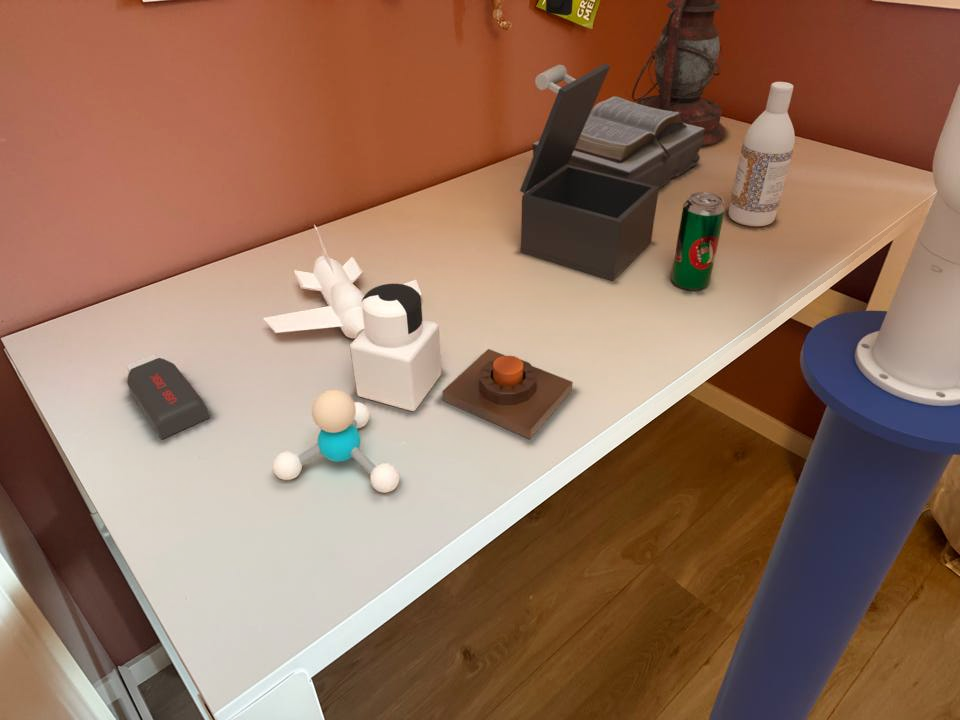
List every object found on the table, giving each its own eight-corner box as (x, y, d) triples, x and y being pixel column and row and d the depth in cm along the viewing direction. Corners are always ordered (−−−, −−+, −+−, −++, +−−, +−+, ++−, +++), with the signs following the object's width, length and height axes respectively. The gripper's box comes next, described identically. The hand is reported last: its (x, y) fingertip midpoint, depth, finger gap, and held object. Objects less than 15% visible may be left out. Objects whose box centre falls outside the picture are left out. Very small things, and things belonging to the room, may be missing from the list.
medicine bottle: (387, 359, 83) (376, 270, 76) (442, 374, 81) (437, 283, 74) (356, 397, 78) (341, 305, 71) (414, 413, 76) (405, 320, 69)
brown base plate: (572, 391, 79) (573, 370, 77) (530, 439, 73) (530, 417, 71) (488, 358, 83) (488, 337, 82) (442, 400, 78) (441, 379, 76)
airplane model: (282, 372, 82) (269, 318, 77) (249, 290, 96) (236, 240, 91) (443, 328, 88) (441, 275, 84) (390, 256, 102) (385, 208, 98)
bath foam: (722, 207, 113) (750, 77, 101) (767, 207, 113) (800, 77, 101) (733, 228, 108) (763, 92, 96) (780, 228, 108) (816, 92, 95)
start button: (528, 374, 77) (529, 361, 76) (512, 390, 75) (513, 377, 74) (503, 364, 78) (503, 351, 77) (487, 380, 76) (487, 367, 75)
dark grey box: (650, 243, 105) (659, 186, 99) (613, 281, 96) (620, 222, 91) (562, 218, 111) (566, 164, 106) (520, 252, 103) (521, 195, 97)
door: (611, 65, 94) (575, 44, 95) (564, 91, 86) (526, 67, 87) (568, 162, 105) (537, 142, 107) (524, 193, 97) (490, 171, 98)
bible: (720, 172, 124) (732, 115, 118) (609, 217, 111) (616, 156, 105) (622, 134, 139) (628, 82, 133) (514, 170, 126) (515, 114, 120)
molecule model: (270, 508, 66) (250, 440, 61) (285, 421, 75) (269, 355, 70) (400, 497, 67) (392, 429, 61) (399, 413, 76) (392, 346, 71)
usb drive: (161, 440, 73) (153, 420, 72) (123, 383, 81) (115, 363, 79) (210, 418, 76) (203, 398, 74) (168, 364, 83) (162, 345, 82)
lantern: (650, 107, 150) (671, -56, 132) (739, 125, 142) (775, -48, 123) (608, 135, 138) (625, -41, 120) (702, 156, 130) (737, -30, 111)
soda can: (675, 269, 99) (690, 187, 91) (712, 277, 97) (730, 194, 89) (666, 287, 95) (680, 203, 88) (704, 295, 93) (722, 211, 86)
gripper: (583, -168, 69) (571, 24, 79) (656, -173, 80) (637, -5, 90) (516, -168, 72) (514, 16, 83) (595, -173, 83) (584, -11, 94)
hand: (578, 5), depth 87 cm, fingers open, 9 cm apart
